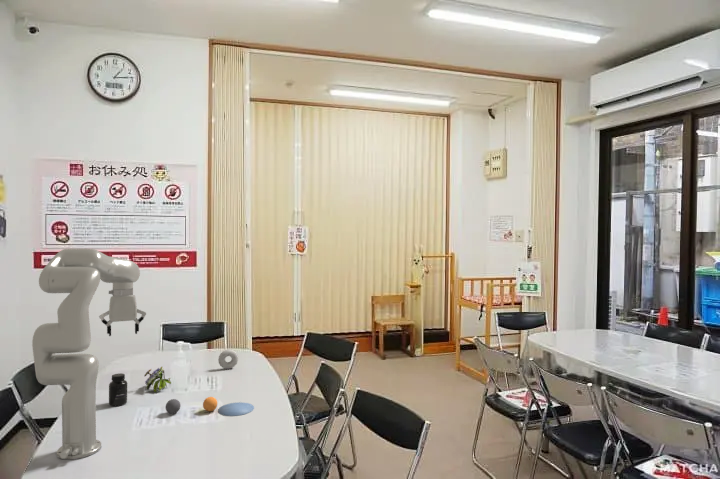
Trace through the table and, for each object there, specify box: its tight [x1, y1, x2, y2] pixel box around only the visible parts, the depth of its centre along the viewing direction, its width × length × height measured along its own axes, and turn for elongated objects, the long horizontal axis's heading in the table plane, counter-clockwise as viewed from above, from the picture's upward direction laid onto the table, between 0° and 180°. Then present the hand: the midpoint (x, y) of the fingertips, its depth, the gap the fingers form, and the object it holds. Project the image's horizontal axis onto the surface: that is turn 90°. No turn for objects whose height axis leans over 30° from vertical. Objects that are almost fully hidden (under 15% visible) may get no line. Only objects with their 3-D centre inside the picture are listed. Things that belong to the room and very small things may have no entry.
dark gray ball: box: [165, 398, 181, 415], centre depth 190 cm, size 6×6×6 cm
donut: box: [218, 348, 239, 370], centre depth 250 cm, size 10×4×10 cm, turn 112°
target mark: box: [217, 401, 255, 417], centre depth 195 cm, size 14×14×1 cm
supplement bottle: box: [108, 373, 128, 407], centre depth 200 cm, size 7×7×12 cm
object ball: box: [202, 396, 218, 412], centre depth 193 cm, size 6×6×6 cm
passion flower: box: [144, 366, 172, 394], centre depth 219 cm, size 11×11×12 cm
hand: (123, 334), depth 200 cm, fingers open, 9 cm apart
